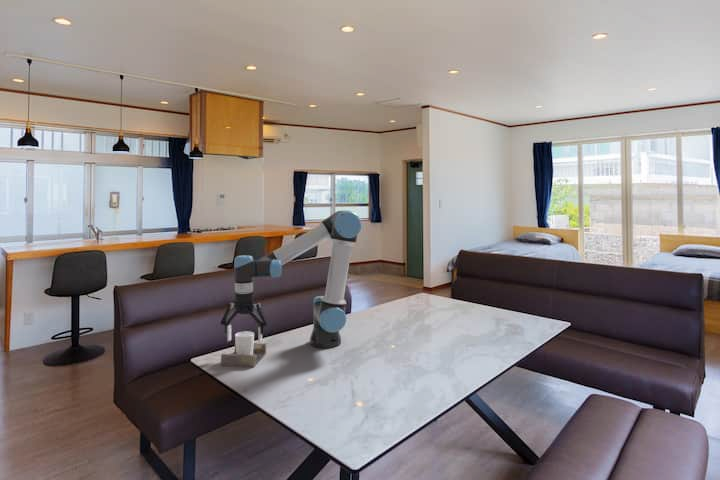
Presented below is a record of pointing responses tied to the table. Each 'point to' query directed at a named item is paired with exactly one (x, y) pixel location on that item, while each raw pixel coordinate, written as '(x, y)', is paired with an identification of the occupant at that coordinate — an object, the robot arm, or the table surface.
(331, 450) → the table surface
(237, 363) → the port dock
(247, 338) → the white cup
